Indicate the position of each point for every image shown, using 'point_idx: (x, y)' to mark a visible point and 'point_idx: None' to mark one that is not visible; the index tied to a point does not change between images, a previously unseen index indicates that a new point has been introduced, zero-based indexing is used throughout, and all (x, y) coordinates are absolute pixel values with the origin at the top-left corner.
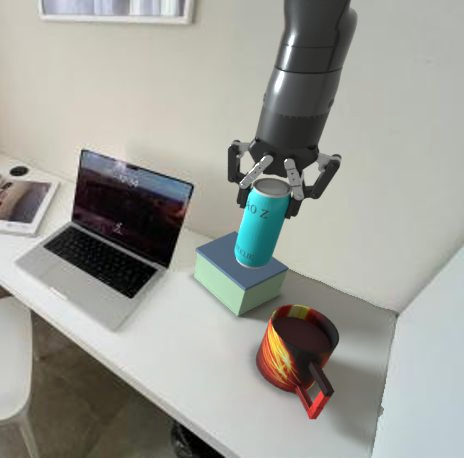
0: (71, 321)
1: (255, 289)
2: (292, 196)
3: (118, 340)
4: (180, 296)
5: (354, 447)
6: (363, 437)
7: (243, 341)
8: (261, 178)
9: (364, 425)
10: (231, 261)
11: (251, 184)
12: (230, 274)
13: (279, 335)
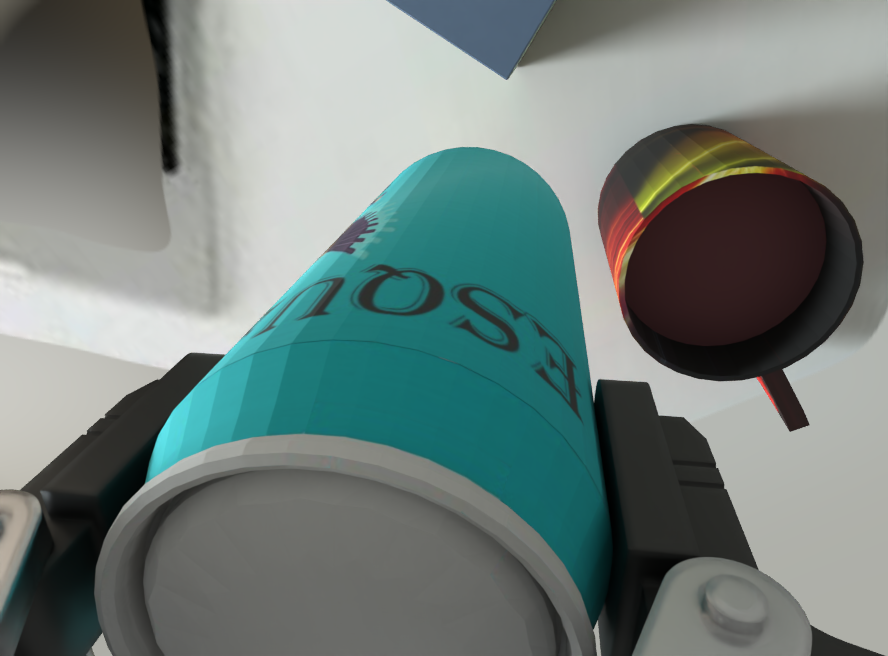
0: (100, 335)
1: (547, 13)
2: (615, 648)
3: (241, 334)
4: (307, 74)
5: (840, 355)
6: (868, 322)
7: (553, 171)
8: (130, 513)
9: (879, 290)
10: None
11: (104, 525)
12: (426, 16)
13: (651, 352)
